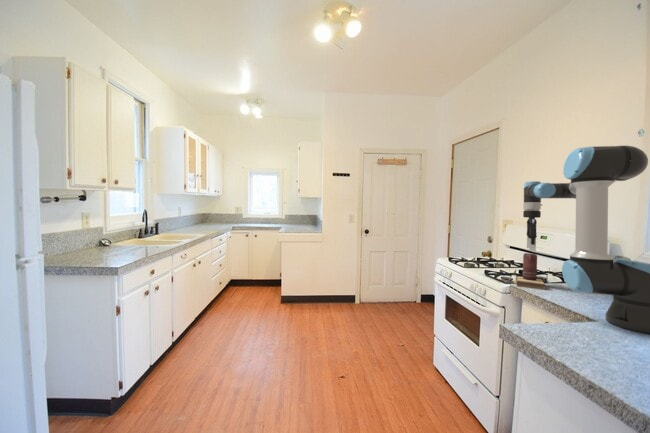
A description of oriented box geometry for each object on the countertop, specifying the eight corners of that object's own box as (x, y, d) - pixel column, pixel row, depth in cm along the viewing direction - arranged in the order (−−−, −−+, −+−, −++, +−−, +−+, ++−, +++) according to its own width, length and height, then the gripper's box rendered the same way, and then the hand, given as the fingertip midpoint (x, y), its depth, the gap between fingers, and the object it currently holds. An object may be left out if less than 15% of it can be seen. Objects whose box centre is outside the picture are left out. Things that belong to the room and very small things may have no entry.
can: (523, 279, 151) (524, 254, 151) (521, 277, 156) (522, 252, 156) (537, 281, 148) (538, 255, 148) (535, 278, 154) (536, 253, 153)
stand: (545, 289, 143) (545, 284, 142) (516, 286, 149) (517, 280, 149) (541, 284, 153) (542, 279, 153) (515, 281, 159) (515, 276, 159)
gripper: (544, 209, 137) (543, 252, 137) (537, 210, 158) (536, 247, 159) (525, 209, 141) (524, 251, 141) (521, 210, 162) (520, 246, 162)
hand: (530, 249), depth 150 cm, fingers open, 13 cm apart
